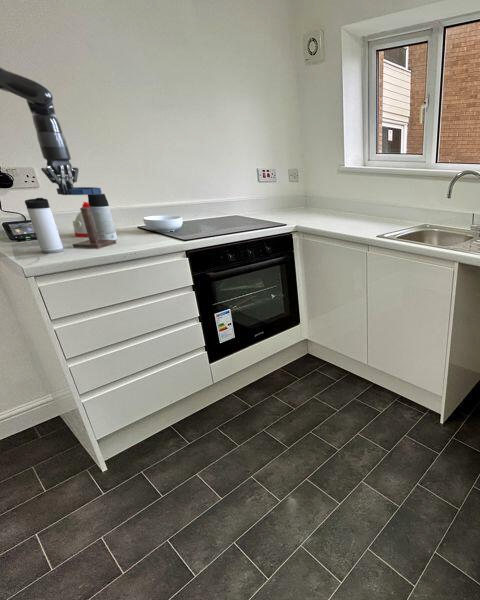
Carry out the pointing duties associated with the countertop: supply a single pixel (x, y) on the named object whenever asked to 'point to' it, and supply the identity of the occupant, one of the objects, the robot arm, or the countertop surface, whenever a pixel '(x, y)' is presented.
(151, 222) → the cereal bowl
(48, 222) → the travel mug
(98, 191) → the ring
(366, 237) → the countertop surface
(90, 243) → the post
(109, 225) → the spray can
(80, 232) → the kitchen timer
